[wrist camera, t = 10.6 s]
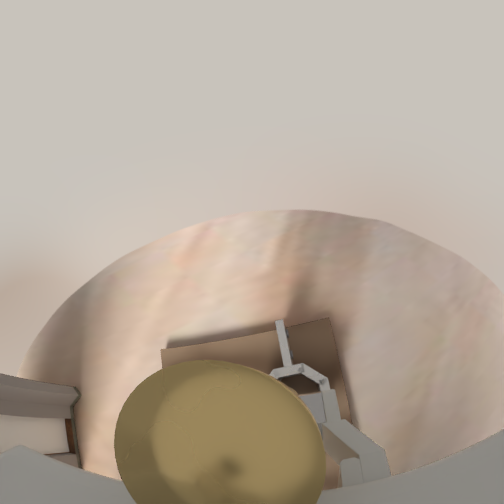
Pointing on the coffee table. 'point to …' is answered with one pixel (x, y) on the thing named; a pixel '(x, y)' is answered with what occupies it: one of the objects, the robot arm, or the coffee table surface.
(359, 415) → the coffee table surface
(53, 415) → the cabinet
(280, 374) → the hinge
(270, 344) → the walnut board
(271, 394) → the hinge pin
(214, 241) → the coffee table surface
